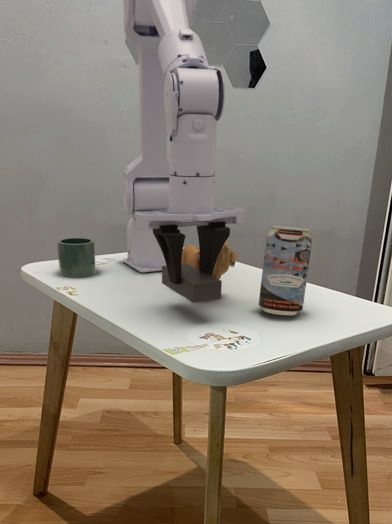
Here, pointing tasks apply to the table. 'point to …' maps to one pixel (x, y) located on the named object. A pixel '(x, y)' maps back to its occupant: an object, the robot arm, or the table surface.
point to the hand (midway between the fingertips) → (190, 280)
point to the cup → (76, 257)
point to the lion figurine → (222, 264)
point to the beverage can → (285, 270)
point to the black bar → (194, 284)
